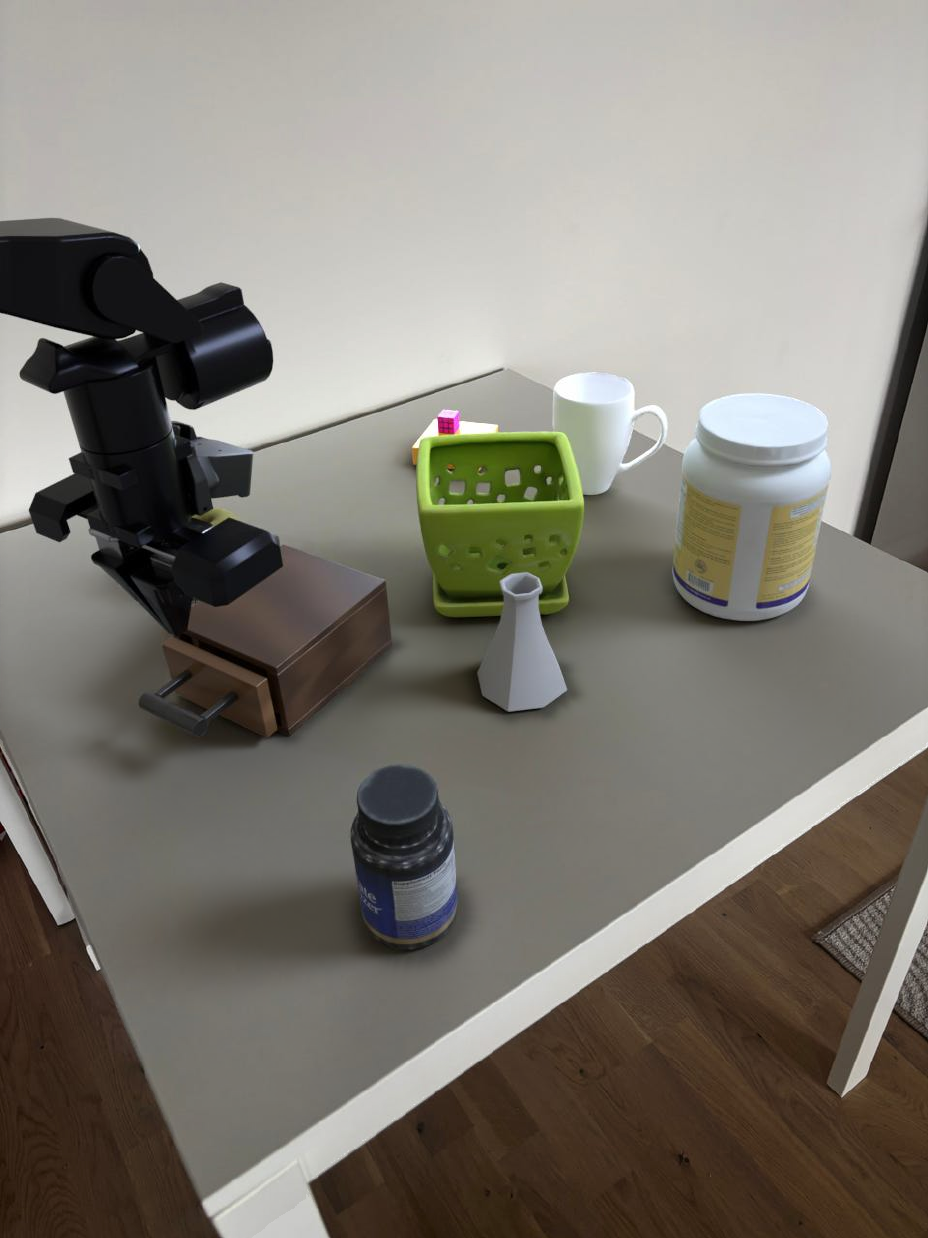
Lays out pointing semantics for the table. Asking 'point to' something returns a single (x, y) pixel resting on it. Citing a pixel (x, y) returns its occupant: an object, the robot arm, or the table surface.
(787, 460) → the supplement tub
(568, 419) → the mug
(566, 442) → the flower pot
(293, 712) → the cabinet
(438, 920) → the pill bottle
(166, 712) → the drawer
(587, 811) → the table surface
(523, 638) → the flask
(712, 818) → the table surface
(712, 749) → the table surface
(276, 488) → the table surface
